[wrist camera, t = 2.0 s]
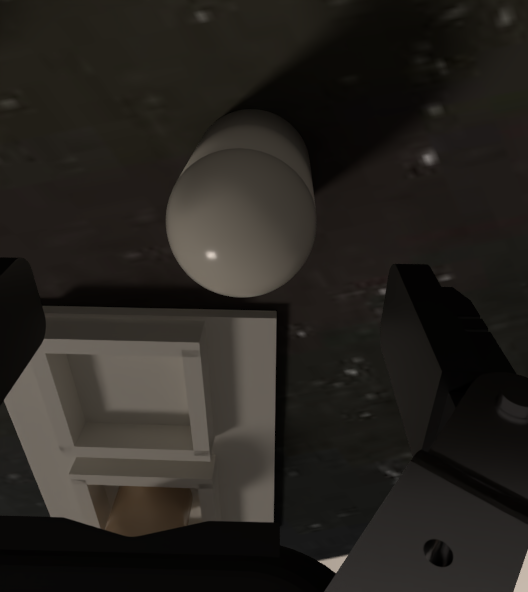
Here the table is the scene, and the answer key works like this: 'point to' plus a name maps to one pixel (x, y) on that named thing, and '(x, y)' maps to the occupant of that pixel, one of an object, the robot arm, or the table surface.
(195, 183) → the white capsule
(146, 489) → the tan capsule
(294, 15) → the table surface
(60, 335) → the white holder tray
